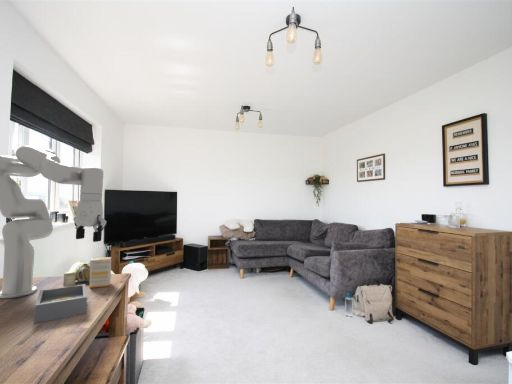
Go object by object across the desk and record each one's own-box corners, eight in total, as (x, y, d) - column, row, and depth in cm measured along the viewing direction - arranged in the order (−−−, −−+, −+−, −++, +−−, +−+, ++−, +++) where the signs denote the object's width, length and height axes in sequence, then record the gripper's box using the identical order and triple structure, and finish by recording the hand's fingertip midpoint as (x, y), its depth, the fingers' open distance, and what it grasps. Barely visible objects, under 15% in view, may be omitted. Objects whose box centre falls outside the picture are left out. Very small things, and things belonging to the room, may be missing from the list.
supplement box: (110, 283, 126) (112, 256, 126) (108, 286, 121) (110, 259, 122) (91, 284, 123) (92, 257, 123) (88, 288, 118) (90, 259, 119)
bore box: (39, 305, 99) (40, 290, 99) (84, 298, 107) (85, 284, 107) (33, 323, 86) (34, 305, 86) (85, 313, 94) (86, 297, 94)
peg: (62, 295, 109) (64, 272, 109) (74, 294, 111) (75, 271, 111) (62, 299, 106) (63, 274, 106) (74, 297, 108) (75, 273, 108)
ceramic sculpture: (101, 259, 137) (91, 268, 123) (100, 275, 137) (91, 286, 123) (78, 260, 134) (65, 269, 120) (77, 276, 134) (65, 288, 120)
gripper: (67, 196, 104) (64, 239, 103) (97, 199, 98) (95, 243, 97) (85, 197, 111) (82, 236, 110) (114, 199, 105) (112, 241, 104)
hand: (88, 240), depth 104 cm, fingers open, 9 cm apart
